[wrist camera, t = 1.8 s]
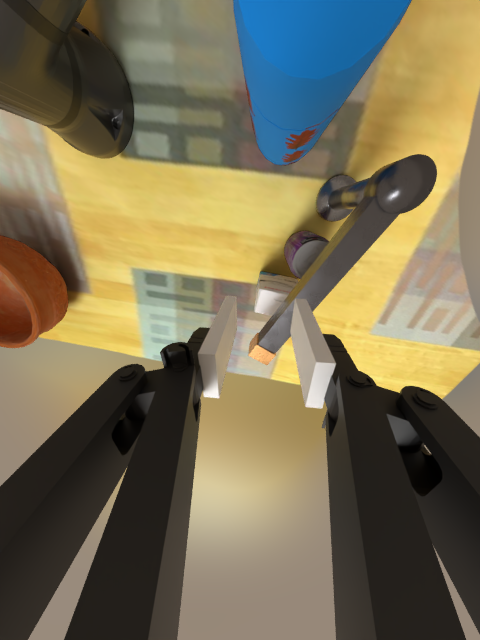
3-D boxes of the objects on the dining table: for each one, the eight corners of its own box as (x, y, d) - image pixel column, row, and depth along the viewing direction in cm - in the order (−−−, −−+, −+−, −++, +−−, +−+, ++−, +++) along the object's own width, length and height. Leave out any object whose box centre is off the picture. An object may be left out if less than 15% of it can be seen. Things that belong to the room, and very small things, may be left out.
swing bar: (387, 154, 19) (412, 142, 16) (419, 180, 20) (449, 173, 17) (247, 341, 32) (245, 355, 29) (269, 352, 33) (269, 368, 30)
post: (316, 181, 34) (351, 158, 20) (359, 171, 33) (430, 139, 19) (316, 224, 37) (346, 231, 23) (355, 217, 36) (413, 219, 22)
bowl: (-8, 278, 53) (-97, 299, 40) (3, 197, 42) (-114, 191, 29) (77, 332, 59) (24, 366, 46) (106, 274, 48) (47, 297, 35)
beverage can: (326, 249, 39) (347, 262, 29) (297, 273, 42) (307, 292, 32) (305, 222, 37) (320, 225, 27) (276, 248, 40) (280, 261, 30)
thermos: (260, 174, 35) (249, 111, 13) (247, 92, 30) (196, -226, 8) (323, 154, 32) (439, 37, 11) (321, 61, 28) (522, -498, 6)
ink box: (255, 290, 46) (252, 313, 35) (260, 270, 43) (258, 287, 33) (290, 298, 45) (298, 322, 35) (297, 278, 43) (307, 298, 33)
